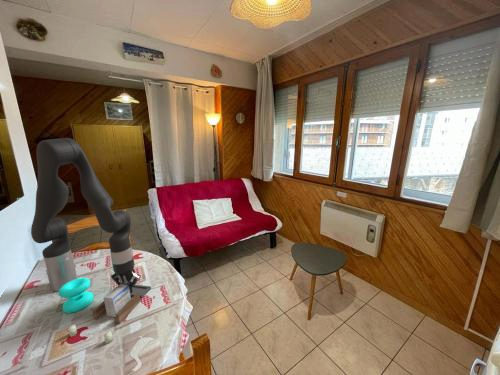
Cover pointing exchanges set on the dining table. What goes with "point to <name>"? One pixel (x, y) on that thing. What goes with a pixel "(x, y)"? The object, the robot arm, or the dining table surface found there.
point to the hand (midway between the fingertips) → (129, 294)
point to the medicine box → (117, 299)
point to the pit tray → (140, 290)
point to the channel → (122, 312)
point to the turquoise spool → (76, 295)
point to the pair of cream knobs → (107, 335)
